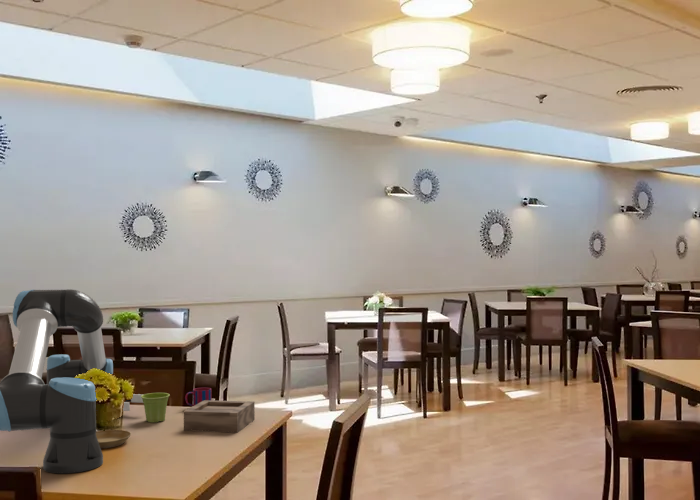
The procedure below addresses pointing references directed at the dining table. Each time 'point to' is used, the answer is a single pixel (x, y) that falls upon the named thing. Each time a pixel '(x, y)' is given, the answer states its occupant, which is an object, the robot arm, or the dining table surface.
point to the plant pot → (155, 406)
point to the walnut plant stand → (219, 416)
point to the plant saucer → (112, 438)
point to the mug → (199, 395)
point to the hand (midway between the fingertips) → (139, 402)
